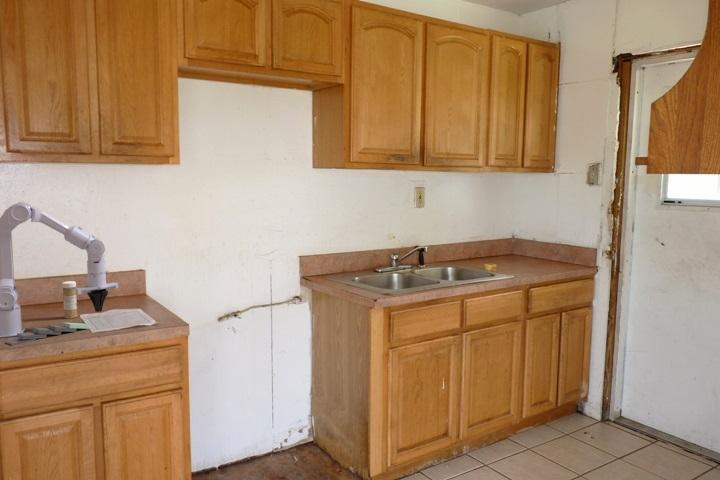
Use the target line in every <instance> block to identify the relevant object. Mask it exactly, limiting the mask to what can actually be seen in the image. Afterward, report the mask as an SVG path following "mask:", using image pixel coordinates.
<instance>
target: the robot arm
mask: <svg viewBox="0 0 720 480" xmlns="http://www.w3.org/2000/svg"><path fill="white" fill-rule="evenodd" d="M28 220H30V223H41V224H43V225H45V226H47V227H49V228H51V229H53V230H54V231H56V232H59V233H60V234H62V235H63V237H64V240H65V241H66V242H68V243H70V244H71V245H73V246H75V247H76V248H79V249H80V250H85V251H86V253H87V260H86V265H87V266H86V267H87V271H86V272H87V285H85V286H81V287H76V288H75V293H76V295H83V294H87V296H88V297H89V299H90V300H91V303H92V305H93V307H94V310H95V312H97V313H100V312H102V311H103V307H104V303H105V300H106V298H107V297H108V294H109V291H108V290H112V289H119V282H116V281H115V282H107V274H106V260H105V251H106V247H105V244H104V243H103V241H102V240H101V239H99V238H96V235H94V234H92V235H91V234H90V233H88V232H86V231H85V230H83V227H82V226H76V225H74V226H72V225H71V226H68V225H67V224H65V223H63V222H61V220H59V219H58V218H56V217H53V216H52V215H50V214H49V213H48V212H46V211H44V210H42V209H40V208H38V207H35V206H33V205H32V206H31V204H28V203H27V202H22V201H21V202H17V203H14V204H12V205H10V206H9V207H7V209H5V210H4V212H3V213H2V214H1V216H0V338H8V337H17V333H25V330H26V328H23V323H22V310H21V308H22V307H21V304H19V302H18V300H19V298H20V292H19V290H18V288H17V286H16V281H15V279H16V278H15V271H14V270H15V269H14V253H13V250H14V249H13V236H12V232H13V230H14V229H15V228H17V227H18V226H19V225H21V224H24V223H25V222H27V221H28Z"/></svg>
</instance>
